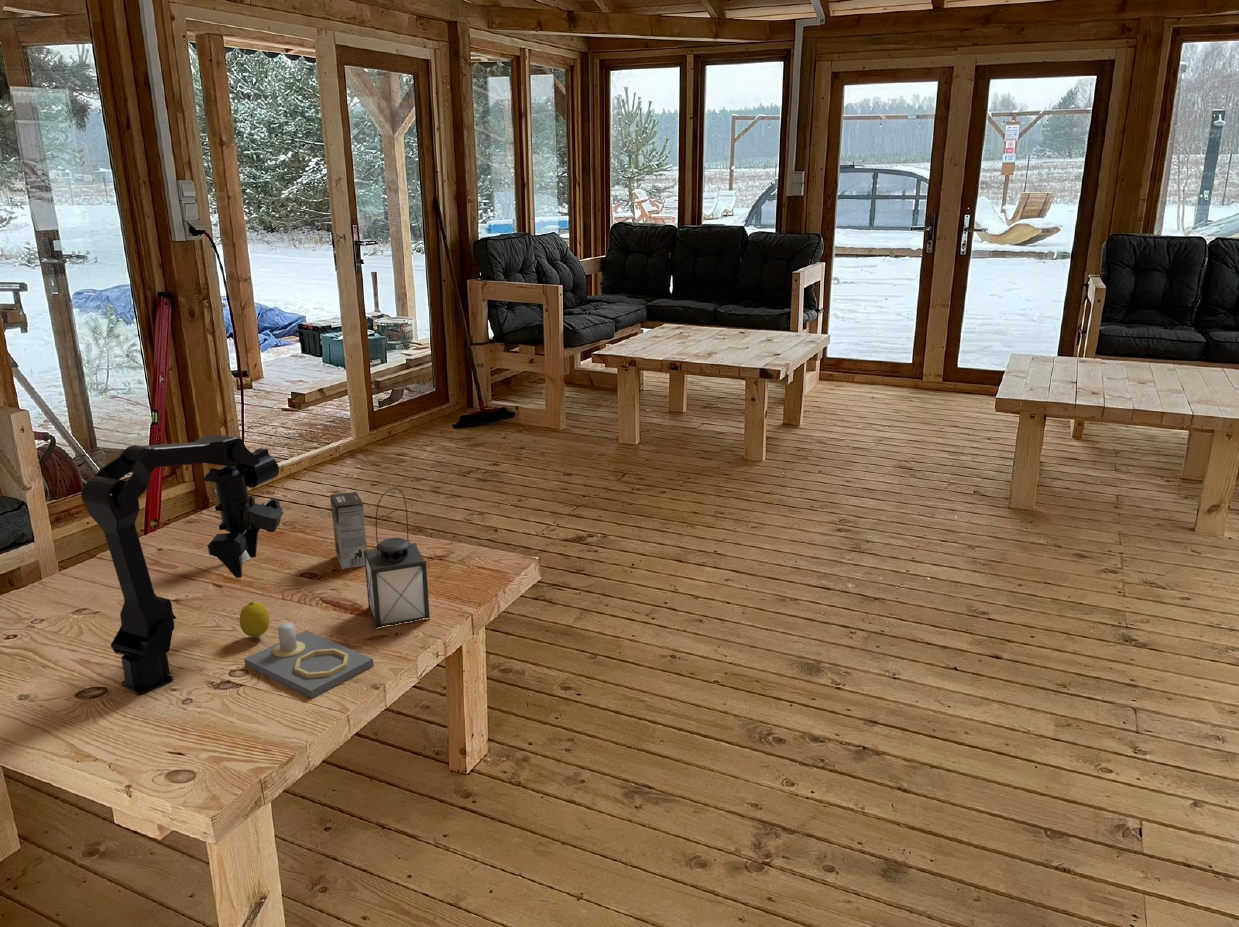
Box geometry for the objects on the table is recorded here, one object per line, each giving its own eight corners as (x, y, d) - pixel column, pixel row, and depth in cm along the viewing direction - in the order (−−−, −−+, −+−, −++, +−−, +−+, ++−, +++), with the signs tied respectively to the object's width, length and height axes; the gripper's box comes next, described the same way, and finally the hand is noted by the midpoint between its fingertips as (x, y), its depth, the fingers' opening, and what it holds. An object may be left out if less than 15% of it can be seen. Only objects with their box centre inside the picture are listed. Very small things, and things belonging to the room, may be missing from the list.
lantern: (420, 599, 202) (411, 478, 194) (430, 620, 192) (421, 493, 184) (368, 607, 198) (357, 484, 190) (376, 630, 188) (364, 500, 180)
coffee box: (335, 556, 225) (329, 494, 220) (362, 552, 228) (356, 490, 223) (341, 570, 217) (335, 505, 213) (368, 565, 220) (363, 502, 215)
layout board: (311, 698, 163) (308, 665, 161) (245, 665, 174) (240, 634, 172) (373, 665, 174) (370, 635, 172) (307, 637, 185) (303, 607, 183)
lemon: (261, 645, 182) (256, 609, 179) (236, 643, 183) (231, 606, 180) (276, 632, 187) (272, 597, 184) (252, 630, 188) (247, 594, 186)
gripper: (260, 513, 173) (273, 586, 179) (287, 477, 191) (298, 545, 196) (200, 516, 173) (214, 589, 178) (232, 479, 190) (245, 548, 195)
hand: (246, 567), depth 187 cm, fingers open, 9 cm apart
